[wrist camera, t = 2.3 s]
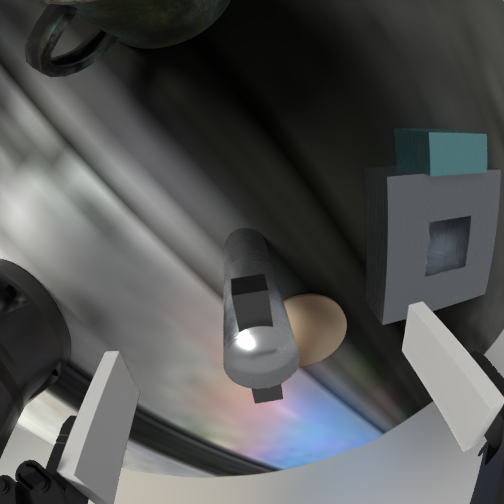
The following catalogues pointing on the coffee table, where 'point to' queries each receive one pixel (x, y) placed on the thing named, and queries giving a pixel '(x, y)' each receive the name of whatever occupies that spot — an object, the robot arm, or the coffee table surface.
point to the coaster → (315, 326)
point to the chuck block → (430, 222)
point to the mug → (116, 28)
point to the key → (255, 319)
